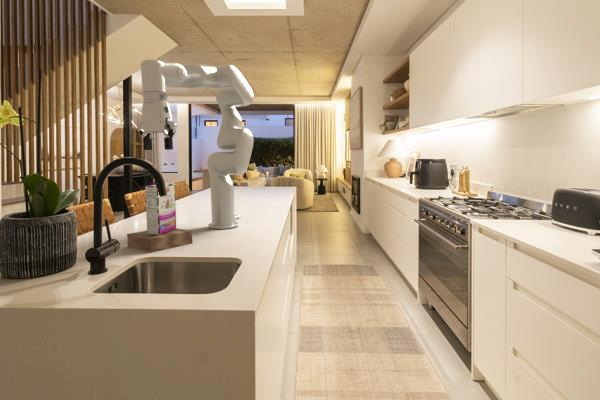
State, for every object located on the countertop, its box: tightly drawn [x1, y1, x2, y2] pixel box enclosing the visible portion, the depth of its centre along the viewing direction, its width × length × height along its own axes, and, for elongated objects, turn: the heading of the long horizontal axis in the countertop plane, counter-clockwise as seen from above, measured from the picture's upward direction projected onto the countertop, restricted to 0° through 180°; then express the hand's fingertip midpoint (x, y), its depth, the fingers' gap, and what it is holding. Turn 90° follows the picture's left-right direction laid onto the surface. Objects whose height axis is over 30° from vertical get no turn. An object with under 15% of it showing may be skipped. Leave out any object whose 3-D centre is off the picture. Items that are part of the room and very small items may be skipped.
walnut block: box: [126, 227, 193, 253], centre depth 142 cm, size 16×14×5 cm
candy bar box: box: [144, 182, 177, 235], centre depth 140 cm, size 11×5×16 cm, turn 167°
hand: (158, 149), depth 141 cm, fingers open, 9 cm apart
